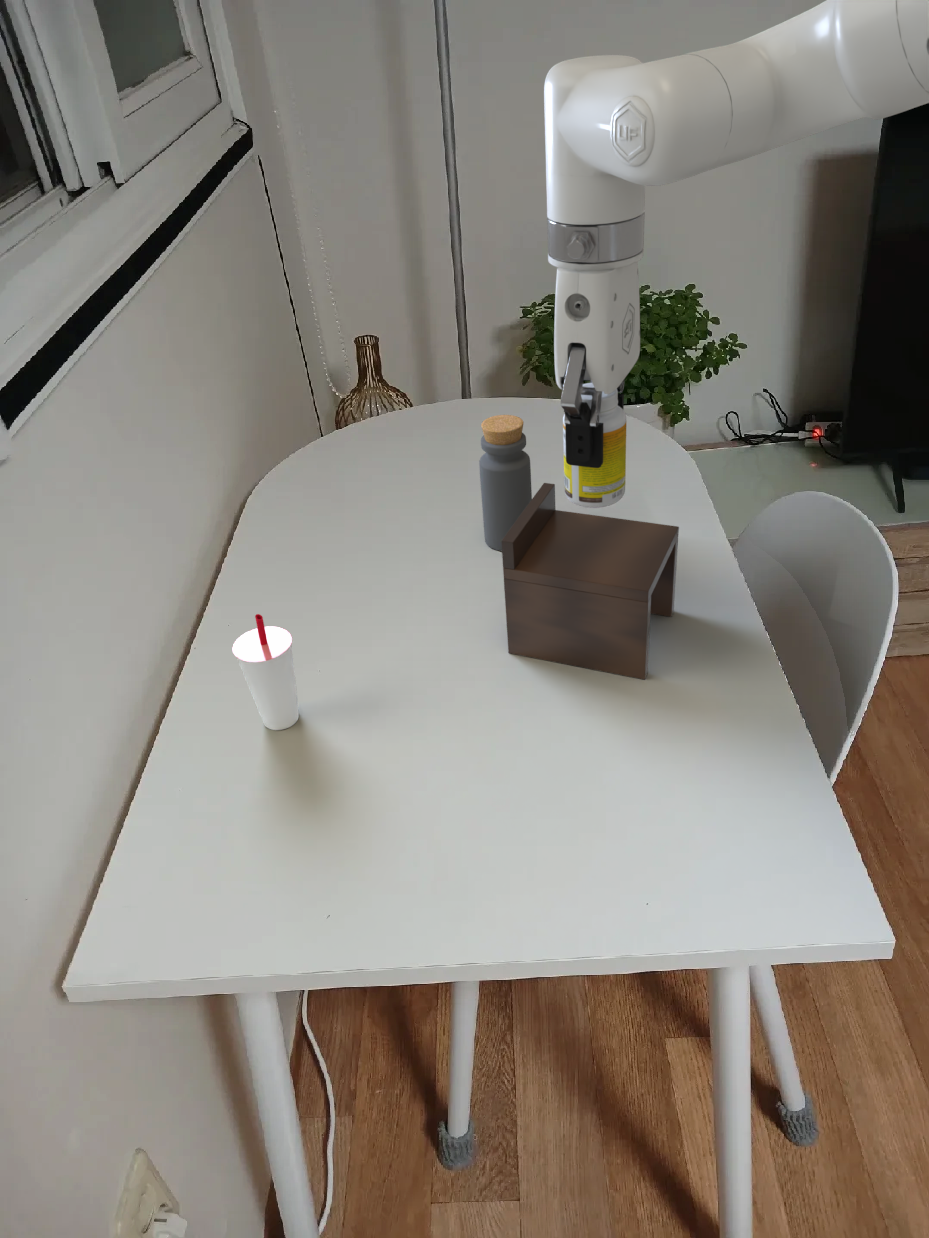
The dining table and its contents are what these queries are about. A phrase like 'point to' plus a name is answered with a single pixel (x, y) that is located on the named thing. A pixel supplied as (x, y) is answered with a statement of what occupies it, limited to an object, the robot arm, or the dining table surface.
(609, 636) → the shelf
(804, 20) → the robot arm
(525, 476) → the bottle
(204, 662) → the dining table surface
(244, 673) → the cup
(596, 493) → the supplement bottle
